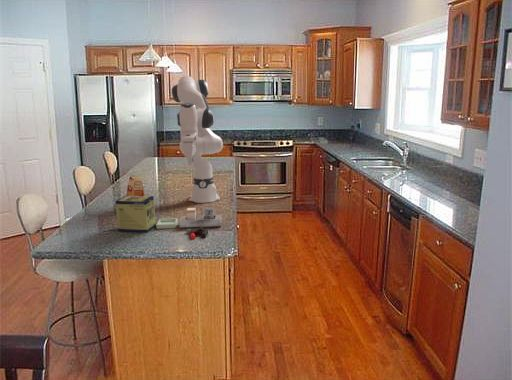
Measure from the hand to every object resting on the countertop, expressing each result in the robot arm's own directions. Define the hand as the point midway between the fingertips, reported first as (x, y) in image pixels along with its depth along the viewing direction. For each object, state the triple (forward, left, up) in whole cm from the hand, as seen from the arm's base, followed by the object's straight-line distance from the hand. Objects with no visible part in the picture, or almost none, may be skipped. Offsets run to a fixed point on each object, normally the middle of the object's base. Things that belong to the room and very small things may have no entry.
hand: (191, 163), depth 223 cm
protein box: (+14, -27, -29) cm, 42 cm away
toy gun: (+28, +3, -30) cm, 41 cm away
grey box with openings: (+15, +5, -29) cm, 33 cm away
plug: (+12, 0, -29) cm, 31 cm away
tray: (+10, -13, -29) cm, 33 cm away
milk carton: (-26, -36, -29) cm, 53 cm away
